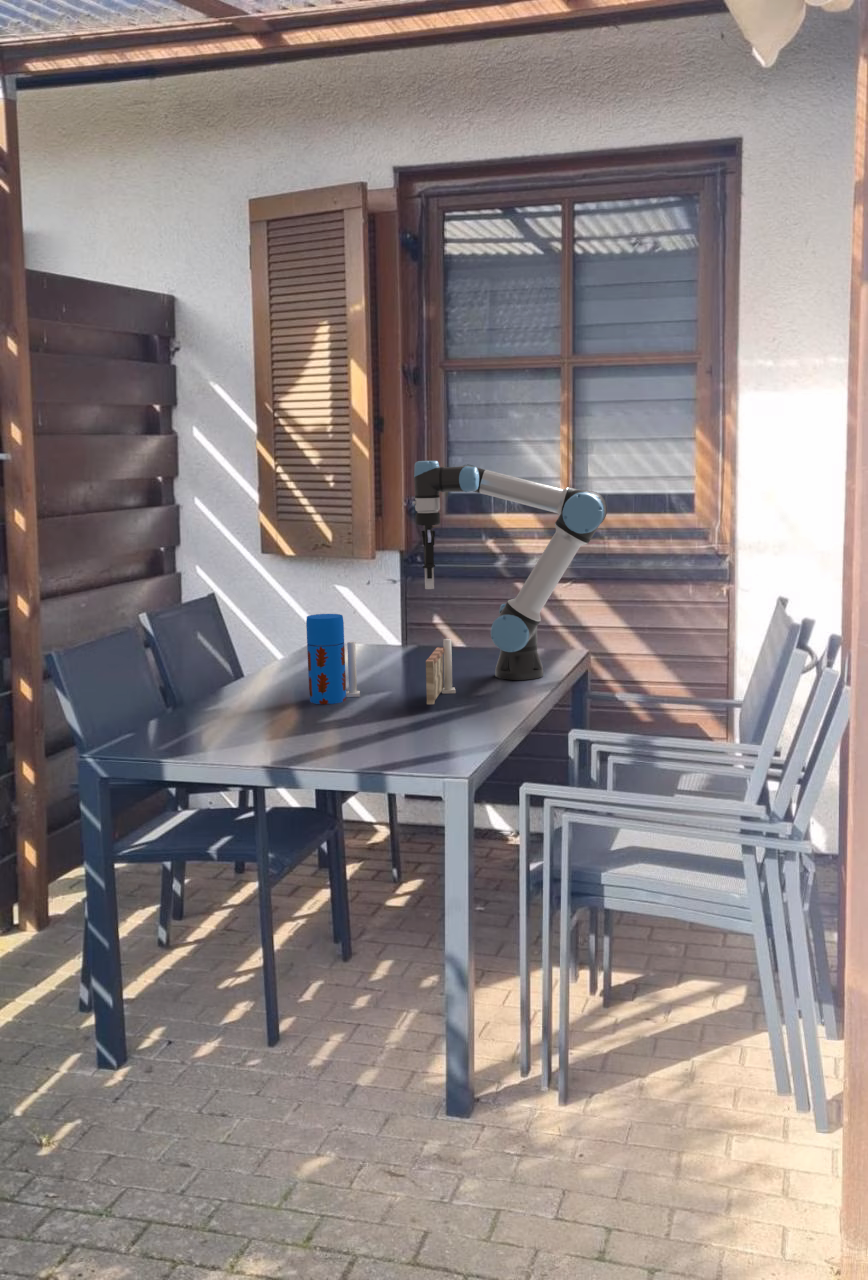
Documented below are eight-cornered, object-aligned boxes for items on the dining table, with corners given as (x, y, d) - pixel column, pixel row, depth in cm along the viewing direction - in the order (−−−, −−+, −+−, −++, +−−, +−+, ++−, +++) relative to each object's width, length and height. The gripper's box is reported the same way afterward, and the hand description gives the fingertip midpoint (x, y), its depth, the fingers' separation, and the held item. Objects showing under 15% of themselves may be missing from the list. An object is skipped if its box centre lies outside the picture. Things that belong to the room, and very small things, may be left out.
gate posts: (454, 690, 415) (453, 638, 412) (455, 693, 411) (454, 640, 408) (346, 694, 413) (344, 641, 411) (346, 697, 409) (344, 643, 407)
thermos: (340, 704, 399) (337, 619, 395) (305, 704, 401) (301, 618, 397) (350, 697, 409) (347, 613, 405) (315, 696, 411) (312, 613, 407)
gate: (438, 687, 412) (437, 647, 410) (444, 687, 412) (443, 647, 410) (426, 704, 389) (425, 661, 387) (433, 704, 388) (432, 661, 386)
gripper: (414, 510, 426) (416, 586, 430) (416, 513, 413) (418, 591, 417) (438, 510, 427) (440, 585, 430) (441, 512, 414) (443, 591, 417)
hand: (429, 588), depth 424 cm, fingers closed
